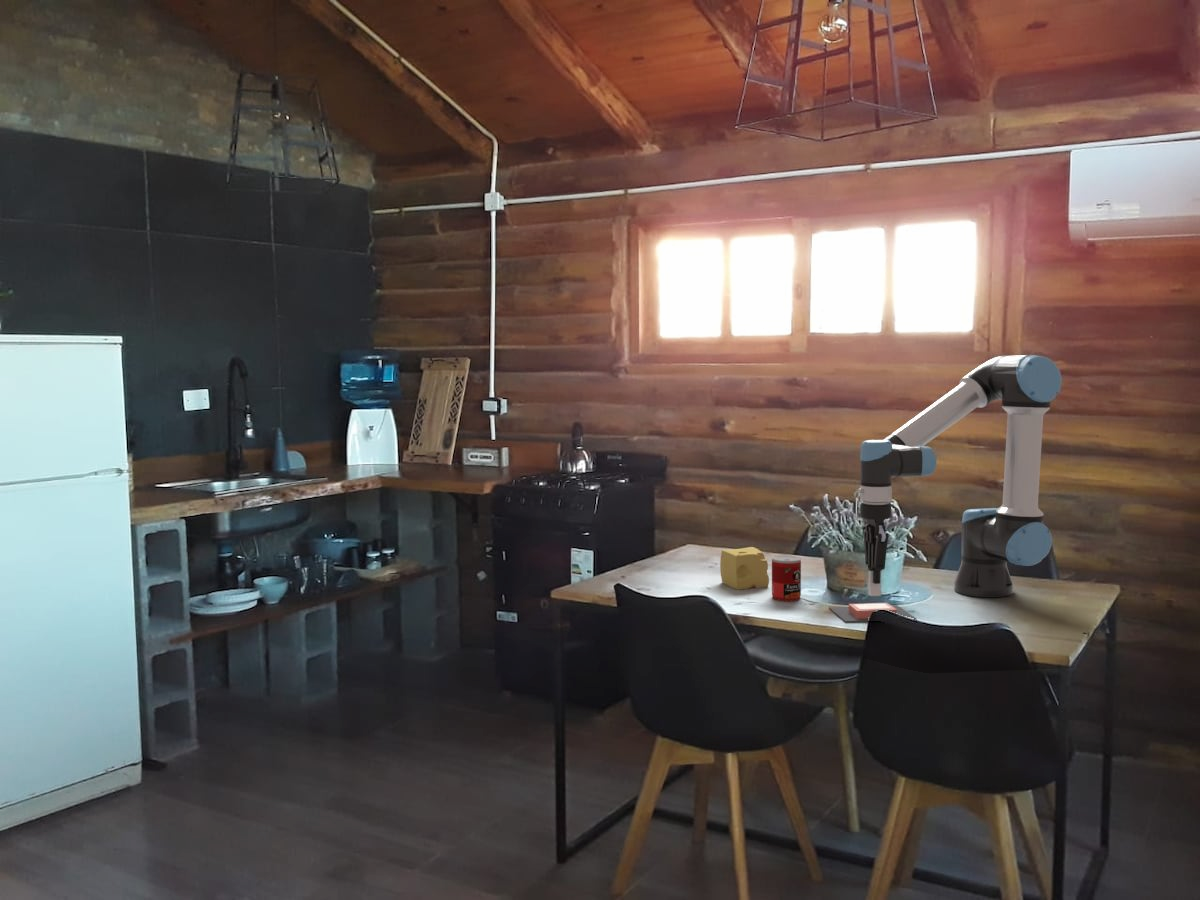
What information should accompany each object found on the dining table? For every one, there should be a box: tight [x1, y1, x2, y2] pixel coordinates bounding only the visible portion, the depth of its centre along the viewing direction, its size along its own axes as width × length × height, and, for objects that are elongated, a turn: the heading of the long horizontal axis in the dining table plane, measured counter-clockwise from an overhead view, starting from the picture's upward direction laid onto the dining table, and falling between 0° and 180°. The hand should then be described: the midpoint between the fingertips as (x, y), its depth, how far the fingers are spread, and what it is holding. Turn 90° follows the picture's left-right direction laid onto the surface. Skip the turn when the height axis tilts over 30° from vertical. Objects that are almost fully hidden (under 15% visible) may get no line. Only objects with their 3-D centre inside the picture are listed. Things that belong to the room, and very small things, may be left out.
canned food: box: [771, 554, 802, 602], centre depth 284 cm, size 8×8×11 cm
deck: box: [848, 602, 897, 619], centre depth 264 cm, size 10×2×7 cm
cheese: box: [719, 546, 770, 591], centre depth 301 cm, size 10×11×10 cm
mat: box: [828, 604, 917, 623], centre depth 266 cm, size 18×14×1 cm
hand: (874, 595), depth 264 cm, fingers closed
